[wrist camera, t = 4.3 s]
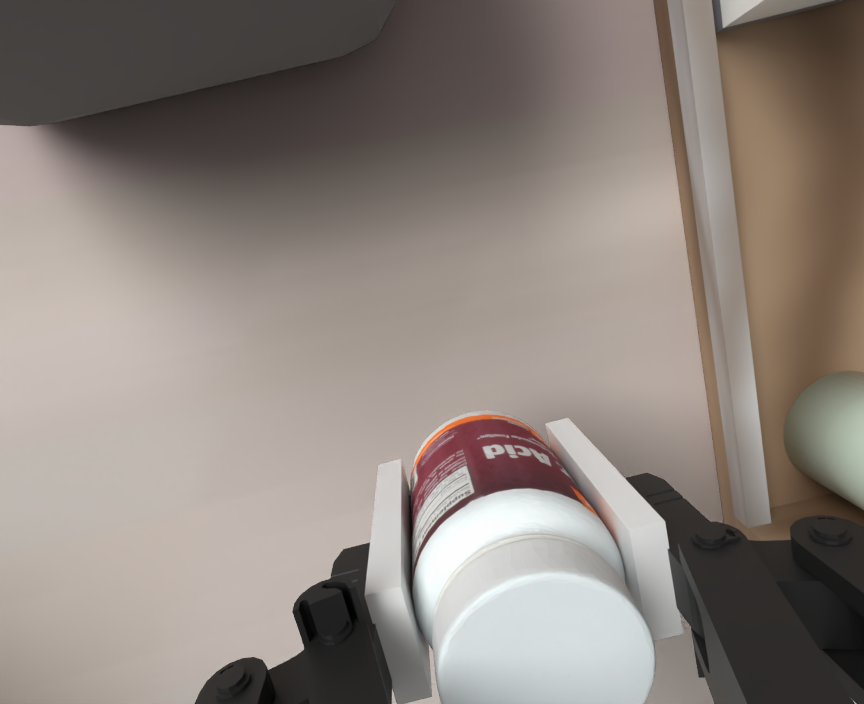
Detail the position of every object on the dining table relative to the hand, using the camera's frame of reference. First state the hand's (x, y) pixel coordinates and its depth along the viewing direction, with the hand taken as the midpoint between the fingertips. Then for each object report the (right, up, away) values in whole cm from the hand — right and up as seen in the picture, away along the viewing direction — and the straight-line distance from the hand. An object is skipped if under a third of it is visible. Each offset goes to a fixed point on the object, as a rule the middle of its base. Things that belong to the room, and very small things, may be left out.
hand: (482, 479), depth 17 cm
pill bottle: (0, 0, +1) cm, 1 cm away
